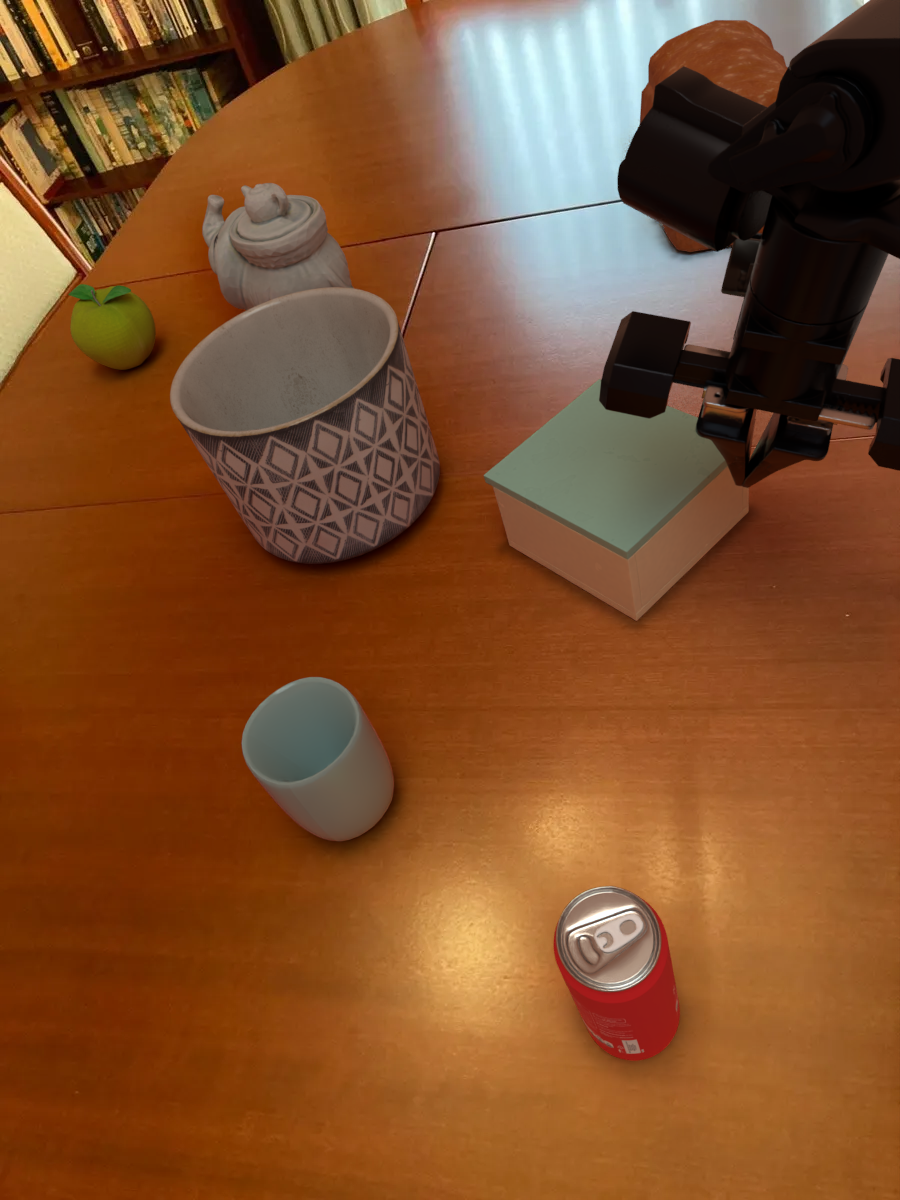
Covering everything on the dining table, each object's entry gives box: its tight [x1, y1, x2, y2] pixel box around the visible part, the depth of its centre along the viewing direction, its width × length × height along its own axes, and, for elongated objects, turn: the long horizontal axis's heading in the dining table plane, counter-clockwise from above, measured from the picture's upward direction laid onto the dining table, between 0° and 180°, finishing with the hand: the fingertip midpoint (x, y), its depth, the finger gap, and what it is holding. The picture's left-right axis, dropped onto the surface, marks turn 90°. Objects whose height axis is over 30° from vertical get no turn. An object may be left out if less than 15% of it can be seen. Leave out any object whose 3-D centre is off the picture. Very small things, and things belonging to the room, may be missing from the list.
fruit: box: [67, 283, 157, 371], centre depth 107 cm, size 9×9×10 cm
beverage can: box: [553, 885, 681, 1062], centre depth 44 cm, size 5×5×12 cm
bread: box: [639, 19, 789, 253], centre depth 96 cm, size 17×24×15 cm
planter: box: [169, 287, 441, 565], centre depth 76 cm, size 19×19×16 cm
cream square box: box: [492, 466, 750, 622], centre depth 69 cm, size 14×14×7 cm
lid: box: [483, 378, 727, 559], centre depth 66 cm, size 14×14×1 cm
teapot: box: [201, 182, 354, 311], centre depth 97 cm, size 16×15×19 cm
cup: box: [240, 676, 395, 842], centre depth 58 cm, size 8×8×10 cm
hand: (742, 481), depth 57 cm, fingers closed
